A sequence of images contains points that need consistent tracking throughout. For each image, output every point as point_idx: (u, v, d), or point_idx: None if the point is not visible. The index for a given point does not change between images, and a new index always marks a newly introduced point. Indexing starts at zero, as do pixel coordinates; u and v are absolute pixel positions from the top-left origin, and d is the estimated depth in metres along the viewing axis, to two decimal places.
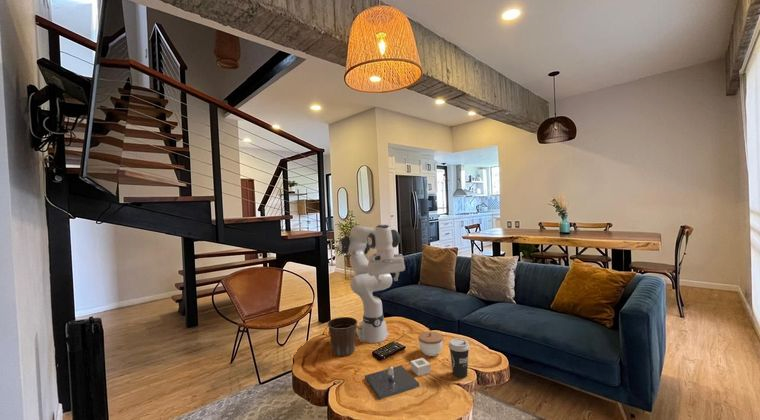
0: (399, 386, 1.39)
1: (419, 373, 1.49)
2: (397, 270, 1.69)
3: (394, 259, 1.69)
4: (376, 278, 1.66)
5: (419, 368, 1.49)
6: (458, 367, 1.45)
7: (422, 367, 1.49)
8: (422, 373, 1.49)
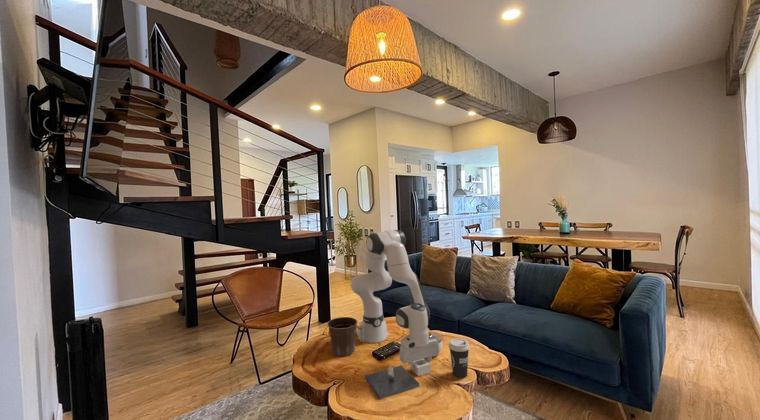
0: (399, 386, 1.39)
1: (419, 373, 1.49)
2: (431, 354, 1.53)
3: (428, 343, 1.52)
4: None
5: (419, 368, 1.49)
6: (458, 367, 1.45)
7: (422, 367, 1.49)
8: (422, 373, 1.49)
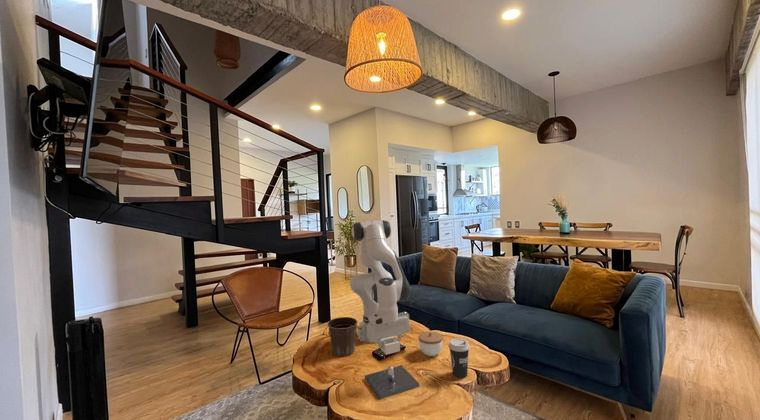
0: (399, 386, 1.39)
1: (387, 351, 1.40)
2: (401, 332, 1.44)
3: (398, 320, 1.43)
4: None
5: (387, 346, 1.40)
6: (458, 367, 1.45)
7: (391, 345, 1.40)
8: (391, 351, 1.40)
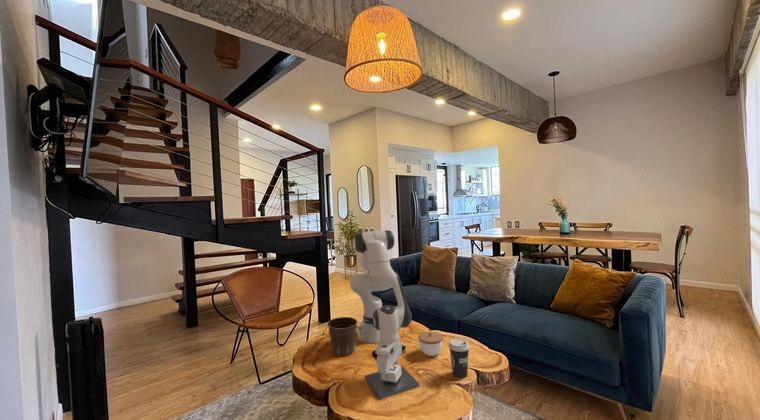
0: (399, 386, 1.39)
1: (396, 379, 1.40)
2: (398, 356, 1.48)
3: None
4: (385, 373, 1.39)
5: (396, 373, 1.41)
6: (458, 367, 1.45)
7: (397, 371, 1.42)
8: (397, 378, 1.42)
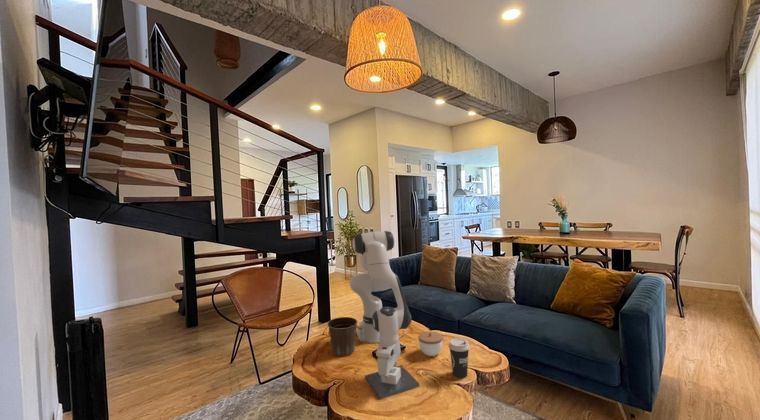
0: (399, 386, 1.39)
1: (396, 381, 1.41)
2: (397, 357, 1.48)
3: None
4: (385, 376, 1.39)
5: (396, 375, 1.41)
6: (458, 367, 1.45)
7: (397, 373, 1.42)
8: (397, 380, 1.42)
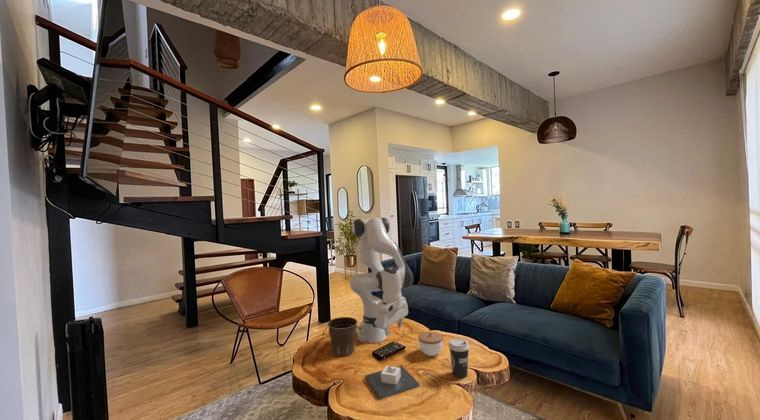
0: (399, 386, 1.39)
1: (396, 381, 1.41)
2: (403, 316, 1.53)
3: None
4: (385, 329, 1.45)
5: (396, 375, 1.41)
6: (458, 367, 1.45)
7: (397, 373, 1.42)
8: (397, 380, 1.42)
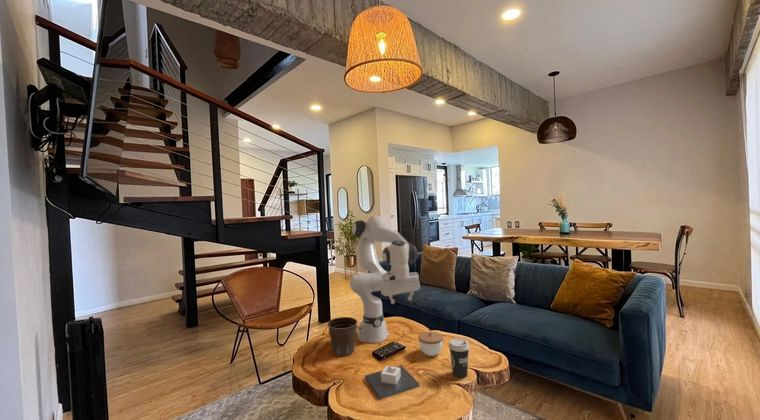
0: (399, 386, 1.39)
1: (396, 381, 1.41)
2: (412, 289, 1.60)
3: (409, 278, 1.59)
4: None
5: (396, 375, 1.41)
6: (458, 367, 1.45)
7: (397, 373, 1.42)
8: (397, 380, 1.42)
